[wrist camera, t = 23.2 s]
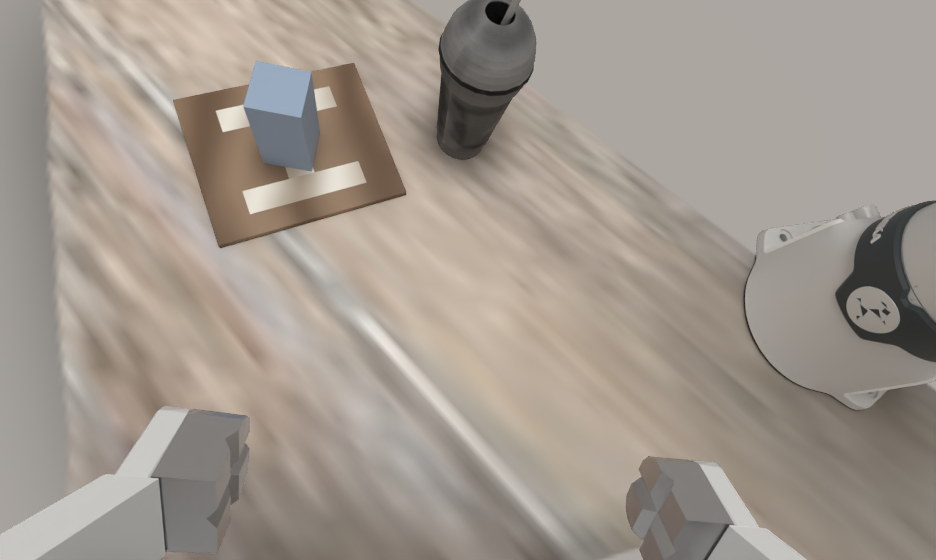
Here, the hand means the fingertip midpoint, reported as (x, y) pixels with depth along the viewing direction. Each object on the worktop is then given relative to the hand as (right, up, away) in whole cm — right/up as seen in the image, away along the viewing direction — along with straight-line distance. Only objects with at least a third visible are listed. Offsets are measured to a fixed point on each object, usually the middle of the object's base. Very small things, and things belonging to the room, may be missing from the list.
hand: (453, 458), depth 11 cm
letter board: (-15, +15, +35) cm, 41 cm away
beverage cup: (0, +17, +39) cm, 42 cm away
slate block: (-15, +15, +35) cm, 41 cm away
